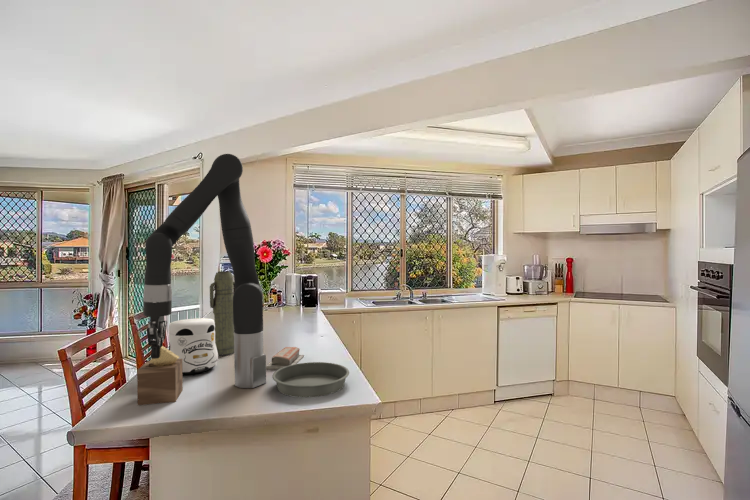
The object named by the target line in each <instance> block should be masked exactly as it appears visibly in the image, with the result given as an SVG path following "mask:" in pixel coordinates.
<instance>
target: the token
mask: <svg viewBox="0 0 750 500" xmlns="http://www.w3.org/2000/svg"><path fill="white" fill-rule="evenodd" d="M178 358H179V356H177V355H176V354H174V353H173V352H171V351H170V350H169V348H167V347H165V346H164V345H163V346H162V347H161V348H160V357H159V358H156V359H152V358H151V359H150V360H148V361H149V362H151V363H152V364H154V365H155V366H170V365H173V364H174V363H175V362H176V361H177V359H178Z"/></svg>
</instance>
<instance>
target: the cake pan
mask: <svg viewBox="0 0 750 500" xmlns="http://www.w3.org/2000/svg"><path fill="white" fill-rule="evenodd" d="M348 376H350V370H349V369H348V368H347V367H346V366H344V365H341V364H338V363H334V362H327V361H326V362H321V361H318V362H317V361H313V362H311V361H310V362H300V363H299V362H298V363H297V364H294V365H290V366H286V367H283V368H281V369H276V371H274V372H273V373H272V376H271V379H272V380H273V381H274V383H276V387H277V390H278V392H279V393H280V394H283V395H285V396H289V397H295V398H315V397H322V396H327V395H331V394H334V393H336V392H339V391H340V390H342V389H343V388H344V387H345V383H346V378H348Z"/></svg>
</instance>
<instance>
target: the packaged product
mask: <svg viewBox="0 0 750 500" xmlns="http://www.w3.org/2000/svg"><path fill="white" fill-rule="evenodd" d="M300 349H301V348H300V347H298V346H285V347H283V348H282V349H281V350H279V352H278V351H277V353H276V354H275V355H273V356H272V357H271V361H270V362H269V363H266V370H279V369H281V368H283V367H286V366H290V365H294V364H299V362H301V360H302V359H303V358H304V356H305V355H304V354H300Z"/></svg>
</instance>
